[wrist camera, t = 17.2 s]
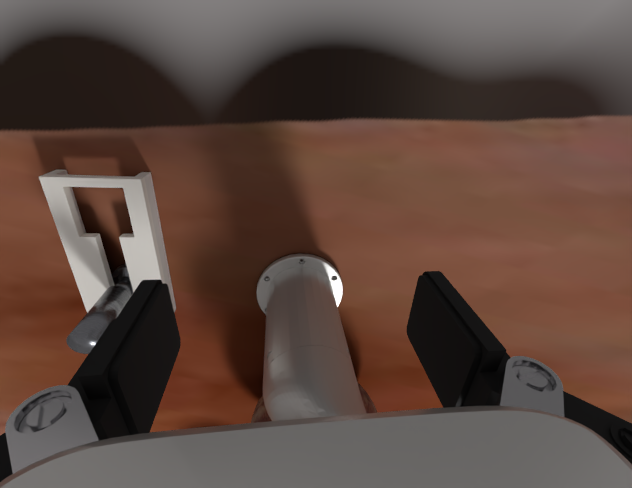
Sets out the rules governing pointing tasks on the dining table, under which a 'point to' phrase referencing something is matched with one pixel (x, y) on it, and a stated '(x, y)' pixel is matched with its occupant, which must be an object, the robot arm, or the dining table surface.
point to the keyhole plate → (87, 248)
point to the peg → (102, 313)
